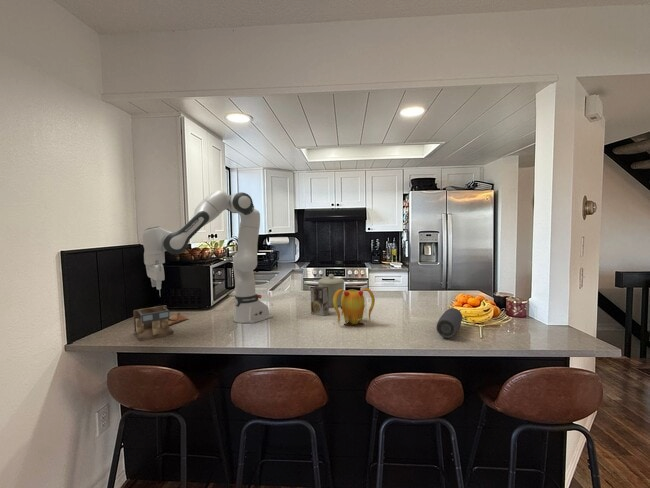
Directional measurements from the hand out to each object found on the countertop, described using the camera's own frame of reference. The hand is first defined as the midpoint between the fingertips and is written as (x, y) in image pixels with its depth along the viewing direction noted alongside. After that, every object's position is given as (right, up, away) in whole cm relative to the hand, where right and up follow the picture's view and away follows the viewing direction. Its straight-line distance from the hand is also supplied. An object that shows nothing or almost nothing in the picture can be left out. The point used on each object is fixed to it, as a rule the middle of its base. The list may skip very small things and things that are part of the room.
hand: (156, 288), depth 154 cm
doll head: (+98, -21, +14) cm, 101 cm away
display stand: (-3, -24, +4) cm, 24 cm away
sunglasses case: (-3, -23, +21) cm, 32 cm away
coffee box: (+80, -21, +34) cm, 89 cm away
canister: (+87, -19, +53) cm, 104 cm away
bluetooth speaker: (+143, -21, -3) cm, 145 cm away
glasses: (-3, -16, +2) cm, 16 cm away
